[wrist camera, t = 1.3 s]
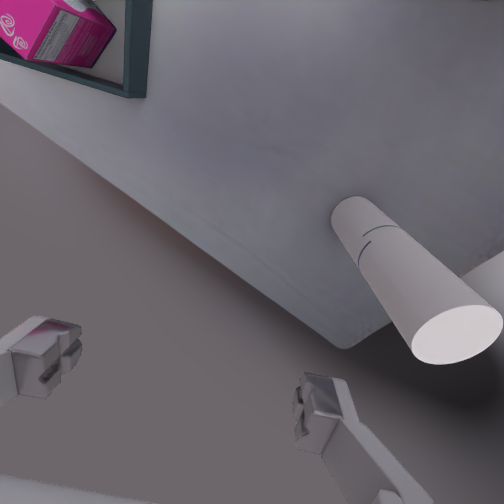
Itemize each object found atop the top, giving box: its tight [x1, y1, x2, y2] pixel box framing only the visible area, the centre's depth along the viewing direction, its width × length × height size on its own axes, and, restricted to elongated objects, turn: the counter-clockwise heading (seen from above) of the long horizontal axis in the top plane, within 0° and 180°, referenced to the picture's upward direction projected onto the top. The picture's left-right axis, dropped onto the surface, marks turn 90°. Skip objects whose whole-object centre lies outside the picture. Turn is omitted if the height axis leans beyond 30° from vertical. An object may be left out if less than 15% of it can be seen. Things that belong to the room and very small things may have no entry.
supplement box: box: [0, 0, 116, 68], centre depth 26 cm, size 6×6×12 cm
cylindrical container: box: [331, 196, 503, 364], centre depth 33 cm, size 7×7×25 cm
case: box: [0, 0, 153, 98], centre depth 28 cm, size 15×10×6 cm
